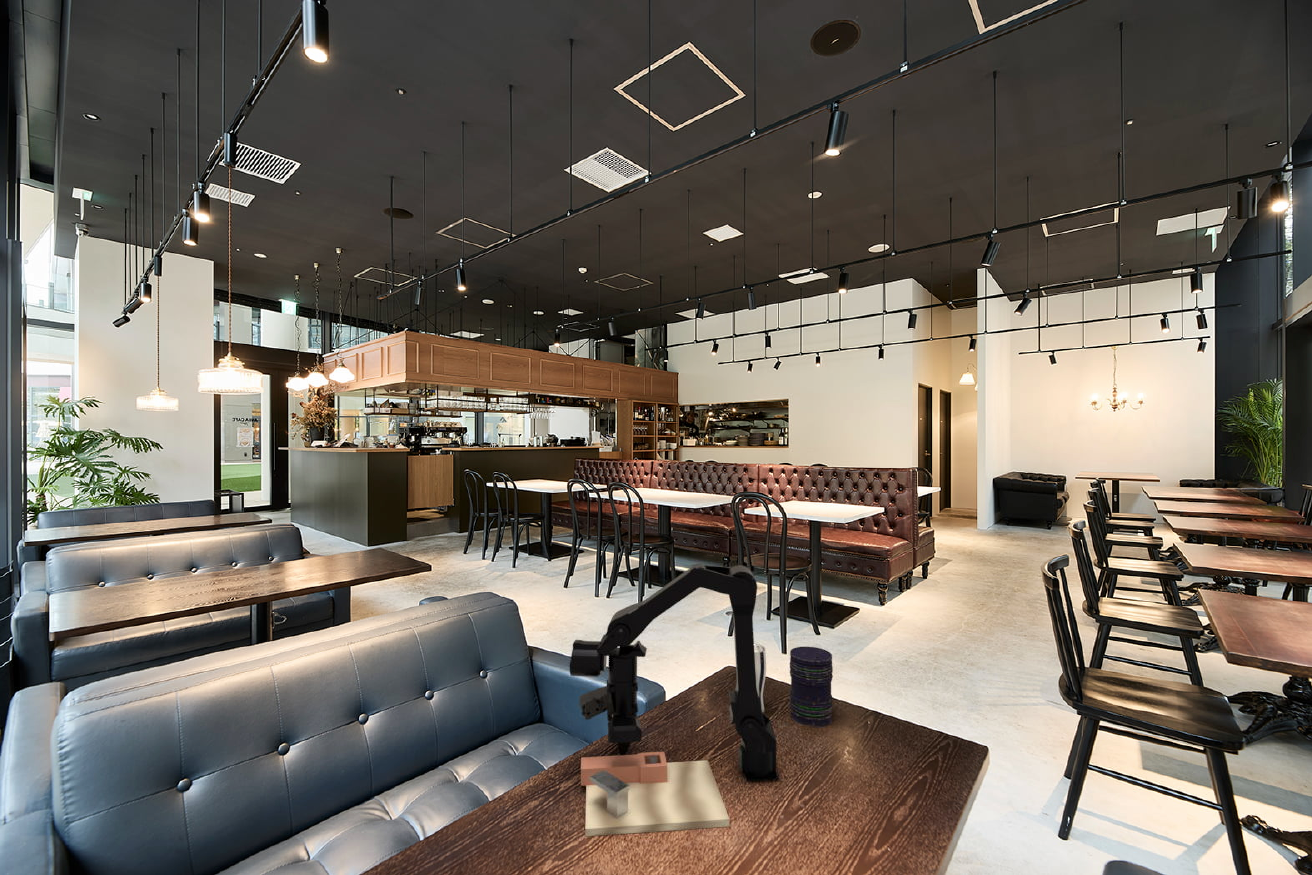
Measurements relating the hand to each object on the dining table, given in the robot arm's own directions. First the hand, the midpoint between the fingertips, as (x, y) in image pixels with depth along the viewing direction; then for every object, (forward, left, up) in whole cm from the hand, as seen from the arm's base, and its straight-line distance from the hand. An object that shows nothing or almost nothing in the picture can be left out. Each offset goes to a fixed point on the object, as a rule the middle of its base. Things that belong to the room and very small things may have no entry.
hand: (622, 755), depth 113 cm
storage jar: (-45, -16, -2) cm, 48 cm away
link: (0, +6, -1) cm, 6 cm away
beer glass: (-32, -21, -2) cm, 39 cm away
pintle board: (-5, +11, -2) cm, 12 cm away
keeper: (+3, +14, -1) cm, 15 cm away
